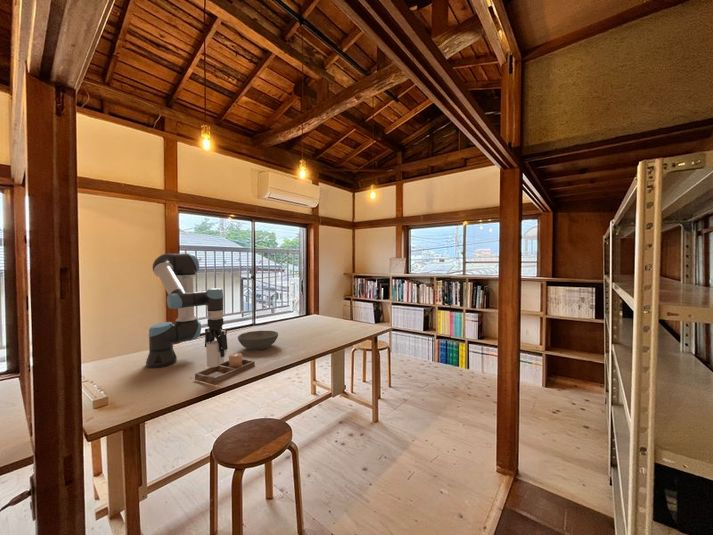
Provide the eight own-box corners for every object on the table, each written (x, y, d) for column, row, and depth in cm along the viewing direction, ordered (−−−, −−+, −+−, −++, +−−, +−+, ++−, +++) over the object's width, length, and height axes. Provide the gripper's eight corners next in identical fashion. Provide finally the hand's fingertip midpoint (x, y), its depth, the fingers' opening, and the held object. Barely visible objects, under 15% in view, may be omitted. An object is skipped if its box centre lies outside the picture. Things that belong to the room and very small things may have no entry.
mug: (209, 368, 147) (208, 345, 147) (204, 365, 152) (204, 342, 151) (229, 363, 154) (229, 341, 154) (224, 360, 159) (224, 338, 158)
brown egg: (226, 368, 163) (226, 356, 163) (236, 364, 170) (236, 352, 169) (235, 370, 160) (235, 358, 160) (245, 366, 167) (245, 354, 167)
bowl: (230, 354, 189) (230, 339, 188) (247, 342, 215) (247, 328, 214) (271, 355, 188) (271, 339, 187) (283, 342, 214) (282, 329, 214)
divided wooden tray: (195, 379, 150) (195, 373, 150) (235, 362, 174) (235, 357, 174) (215, 384, 144) (215, 378, 144) (254, 366, 168) (254, 361, 168)
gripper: (196, 317, 153) (197, 361, 154) (222, 321, 145) (223, 367, 146) (208, 315, 160) (209, 357, 161) (235, 318, 152) (235, 362, 152)
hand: (216, 361), depth 153 cm, fingers closed on mug, 7 cm apart
